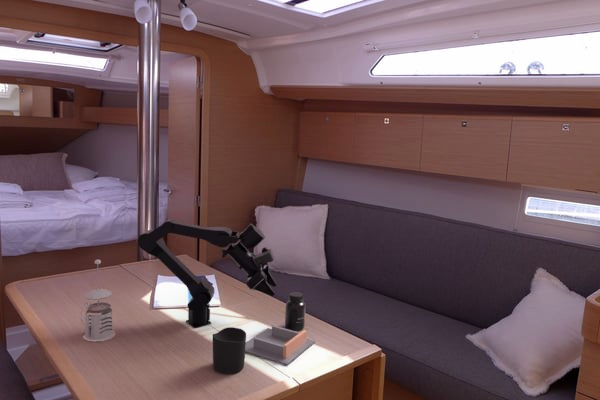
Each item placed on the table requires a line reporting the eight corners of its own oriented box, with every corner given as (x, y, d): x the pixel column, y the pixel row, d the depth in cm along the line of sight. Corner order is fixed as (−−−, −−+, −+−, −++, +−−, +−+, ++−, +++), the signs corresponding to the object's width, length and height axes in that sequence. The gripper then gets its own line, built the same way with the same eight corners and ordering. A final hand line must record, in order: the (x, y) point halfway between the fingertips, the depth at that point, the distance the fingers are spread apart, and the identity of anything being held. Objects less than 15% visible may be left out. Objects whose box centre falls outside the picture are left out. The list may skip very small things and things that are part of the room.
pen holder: (247, 373, 133) (248, 340, 132) (213, 377, 130) (214, 343, 129) (242, 358, 142) (243, 326, 141) (210, 361, 139) (210, 328, 138)
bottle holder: (236, 350, 147) (237, 335, 146) (267, 329, 163) (268, 316, 162) (287, 365, 138) (288, 350, 138) (315, 342, 154) (315, 329, 154)
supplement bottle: (302, 333, 161) (303, 298, 159) (282, 330, 162) (284, 296, 161) (306, 325, 168) (307, 292, 166) (287, 322, 169) (288, 290, 167)
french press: (122, 332, 156) (121, 257, 152) (96, 347, 145) (94, 267, 141) (97, 326, 159) (96, 254, 155) (70, 341, 148) (68, 262, 144)
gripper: (258, 249, 151) (291, 283, 153) (262, 235, 170) (292, 267, 172) (232, 271, 153) (266, 306, 154) (240, 256, 171) (270, 287, 173)
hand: (274, 290), depth 163 cm, fingers open, 9 cm apart
